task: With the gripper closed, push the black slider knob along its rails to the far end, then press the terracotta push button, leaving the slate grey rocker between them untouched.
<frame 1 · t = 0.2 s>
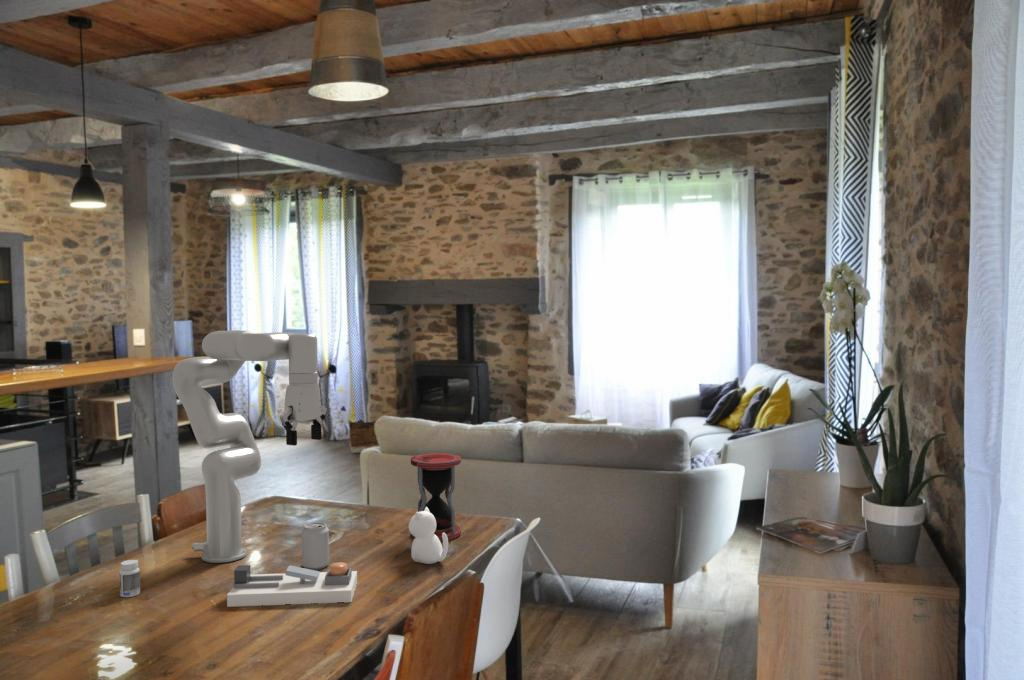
hand: (304, 442, 208), 37 cm above the table, tool pointing down, fingers open, 9 cm apart
slate rocker: (302, 573, 197), point 5 cm above the table, hinge at 14.0°
panel: (295, 593, 197), on the table
button: (338, 569, 198), point 6 cm above the table, slide at 0.0 cm
hourglass: (436, 535, 248), on the table
slider: (242, 575, 195), point 5 cm above the table, slide at 0.0 cm
cat figurine: (429, 562, 222), on the table
can: (315, 566, 218), on the table
pill bottle: (130, 595, 197), on the table
jawbone: (321, 542, 243), on the table
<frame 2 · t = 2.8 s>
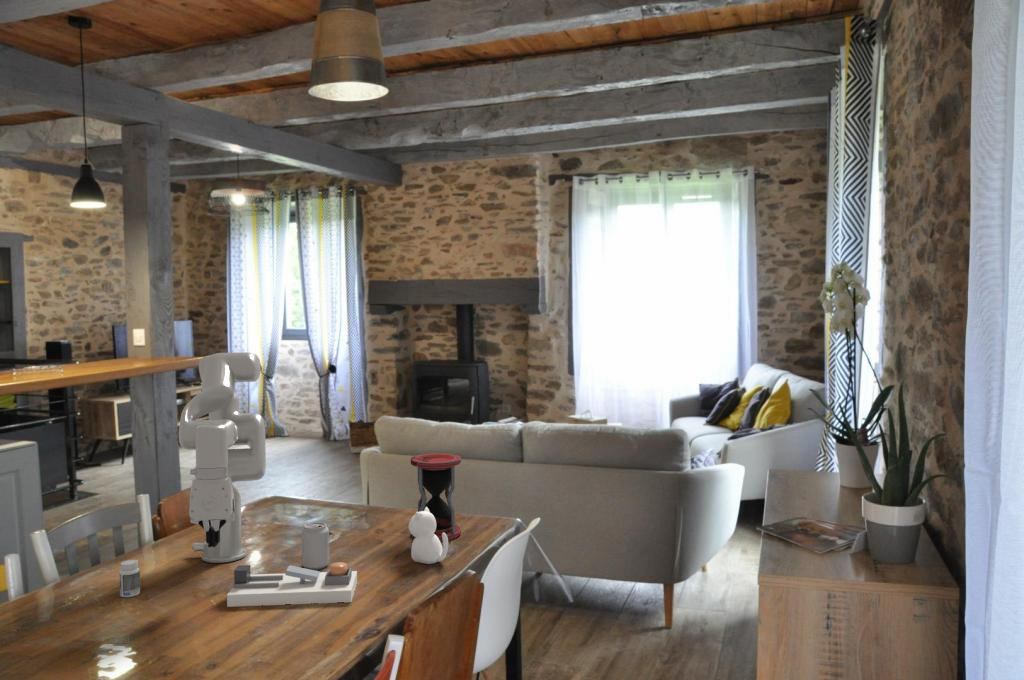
hand: (213, 545, 194), 13 cm above the table, tool pointing down, fingers closed
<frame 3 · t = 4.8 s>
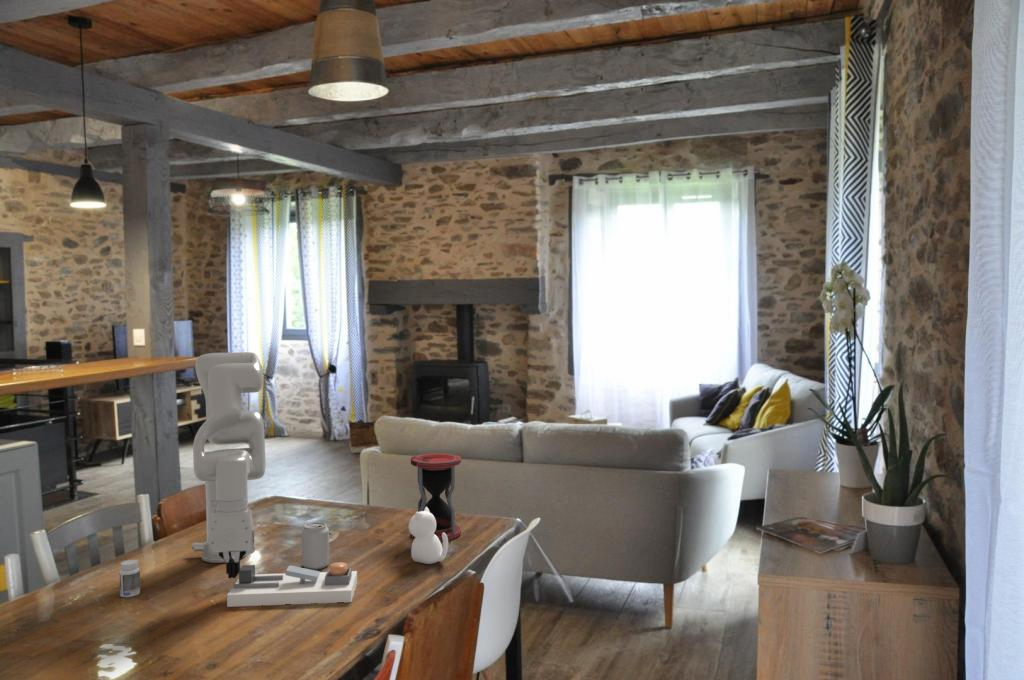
hand: (233, 576, 195), 5 cm above the table, tool pointing down, fingers closed
slider: (247, 575, 196), point 5 cm above the table, slide at 1.2 cm, touching gripper
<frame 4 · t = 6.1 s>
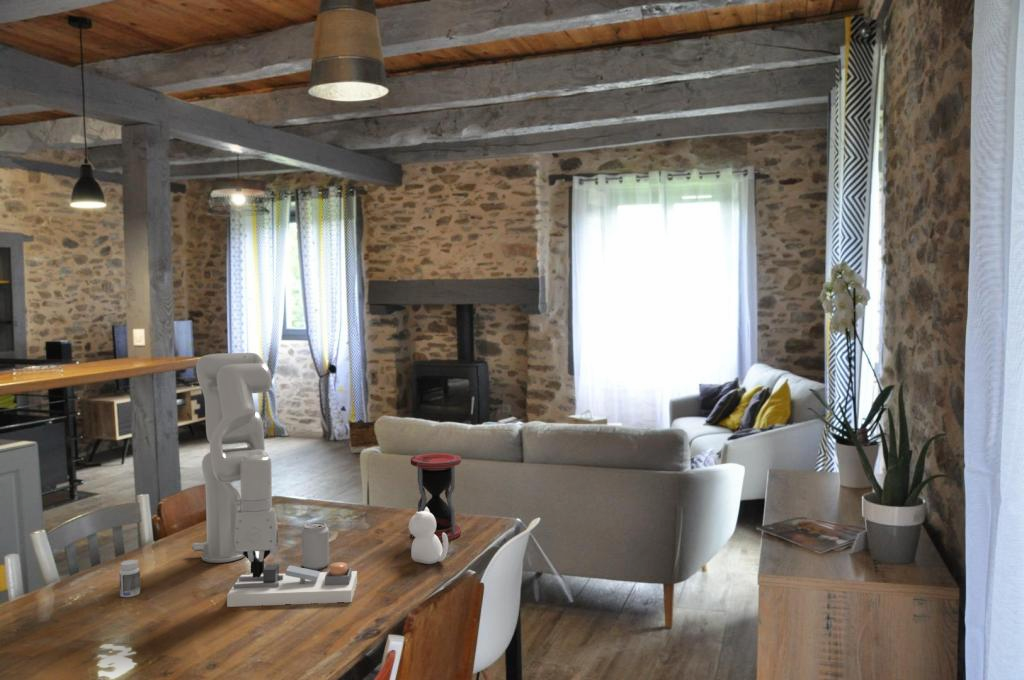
hand: (257, 575, 196), 5 cm above the table, tool pointing down, fingers closed
slider: (271, 574, 196), point 5 cm above the table, slide at 7.1 cm, touching gripper
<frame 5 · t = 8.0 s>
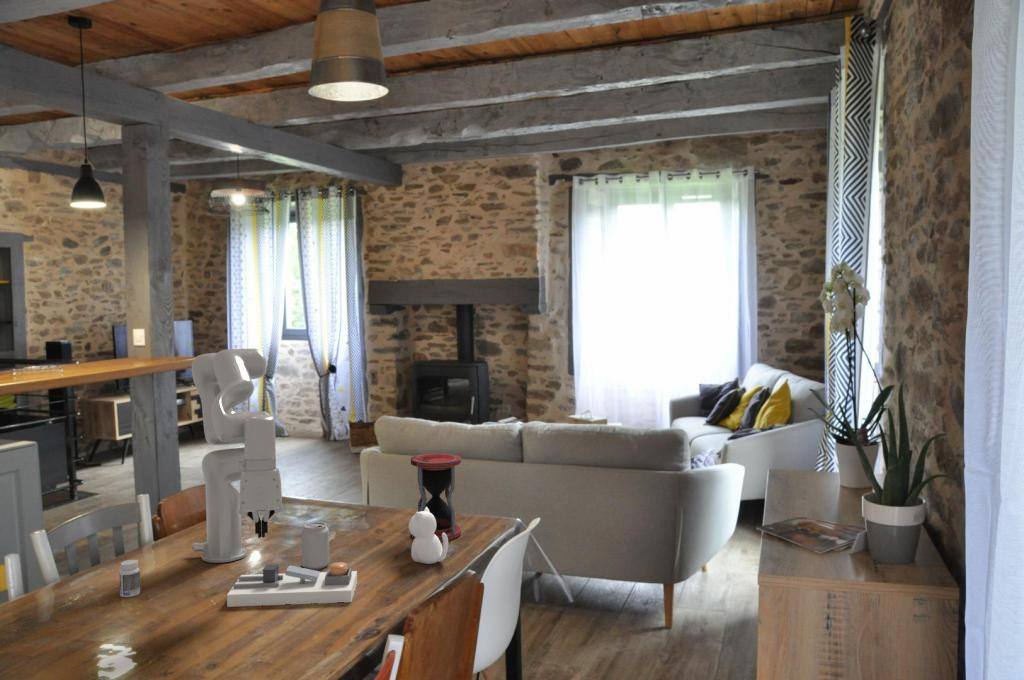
hand: (261, 536, 195), 15 cm above the table, tool pointing down, fingers closed
slider: (270, 574, 196), point 5 cm above the table, slide at 7.1 cm
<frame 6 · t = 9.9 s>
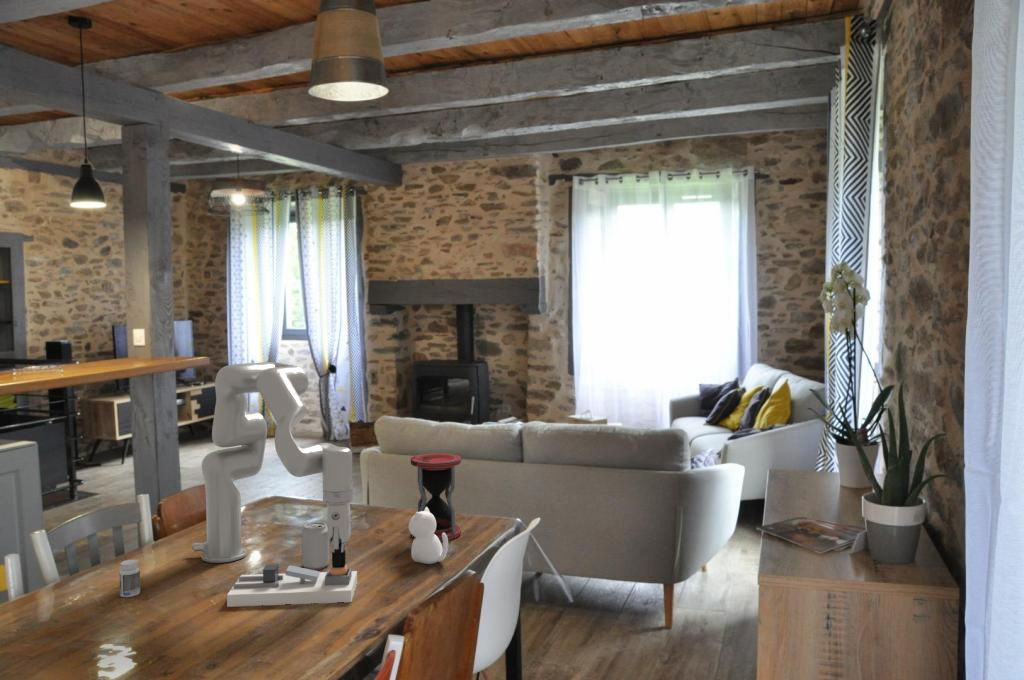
hand: (338, 566, 198), 7 cm above the table, tool pointing down, fingers closed
button: (338, 571, 198), point 6 cm above the table, slide at 0.3 cm, touching gripper
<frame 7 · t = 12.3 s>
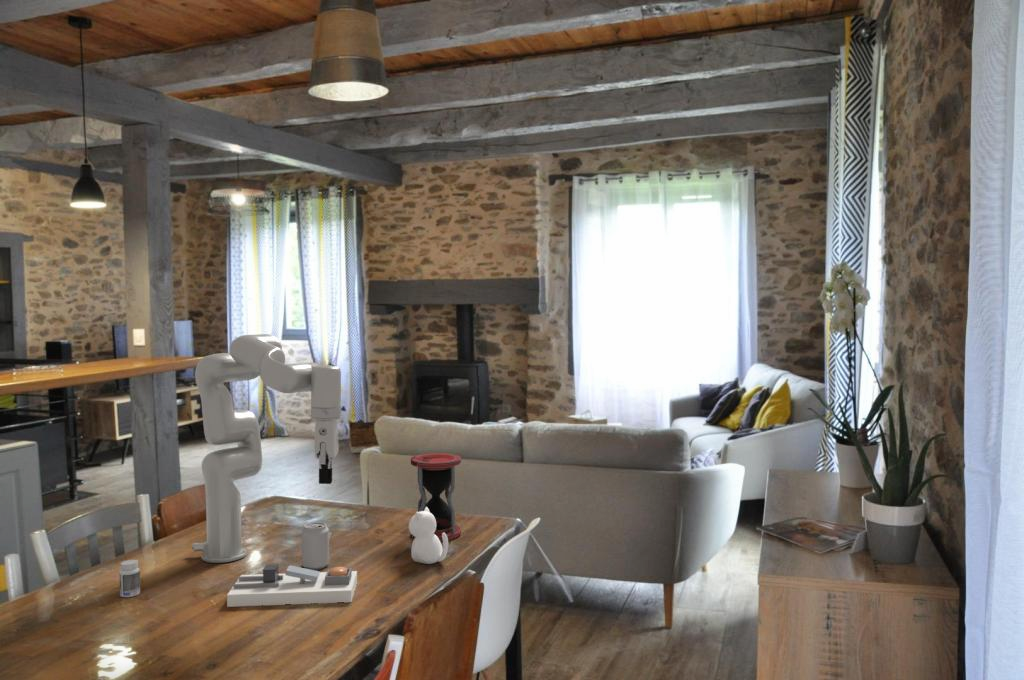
hand: (325, 482, 200), 28 cm above the table, tool pointing down, fingers closed
button: (338, 574, 198), point 5 cm above the table, slide at 1.2 cm
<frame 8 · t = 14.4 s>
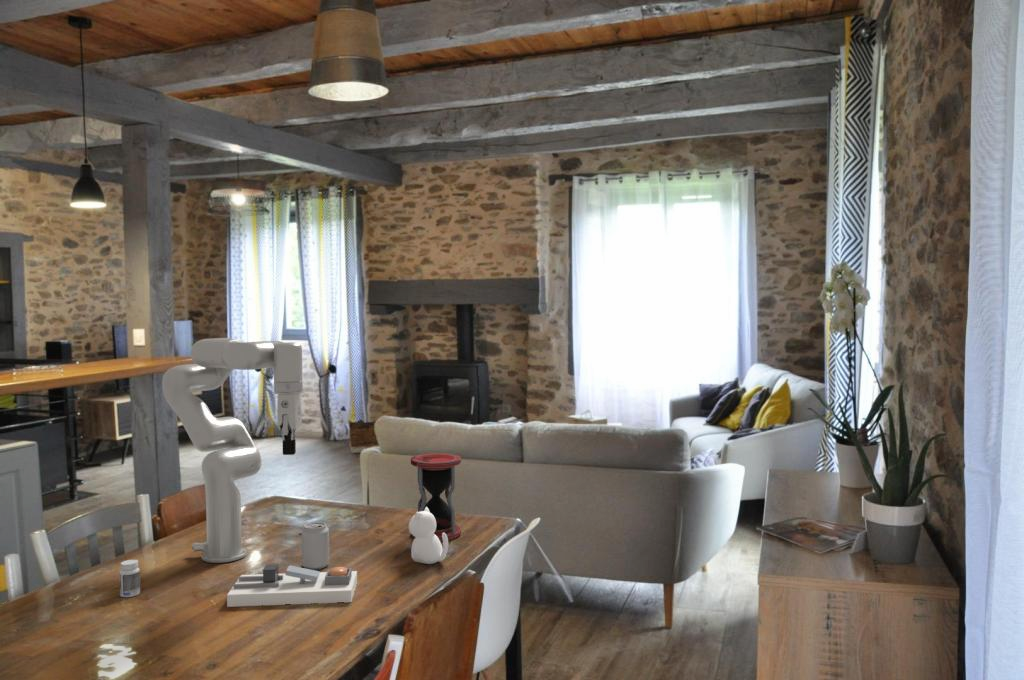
hand: (289, 454, 211), 33 cm above the table, tool pointing down, fingers closed
at the end: slider slide at 7.1 cm; button slide at 1.2 cm; slate rocker at +14° (first picture: +14°) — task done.
